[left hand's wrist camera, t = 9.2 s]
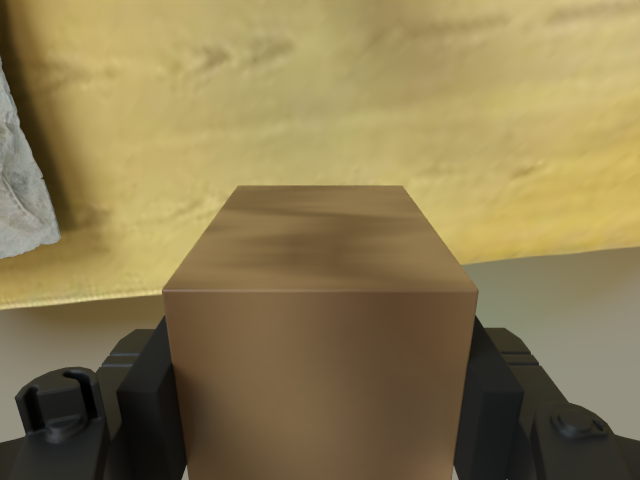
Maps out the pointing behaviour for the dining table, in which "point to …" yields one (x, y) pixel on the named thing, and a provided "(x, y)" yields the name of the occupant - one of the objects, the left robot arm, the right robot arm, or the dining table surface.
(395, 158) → the dining table surface
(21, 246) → the grey bumpy flat piece
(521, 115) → the dining table surface
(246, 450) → the block
